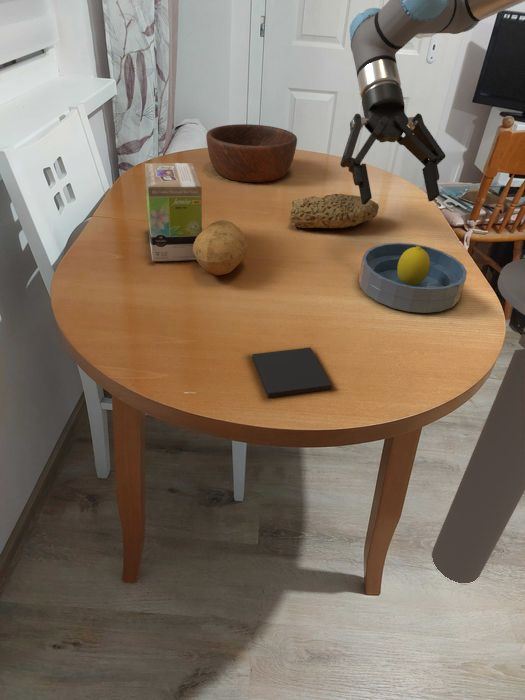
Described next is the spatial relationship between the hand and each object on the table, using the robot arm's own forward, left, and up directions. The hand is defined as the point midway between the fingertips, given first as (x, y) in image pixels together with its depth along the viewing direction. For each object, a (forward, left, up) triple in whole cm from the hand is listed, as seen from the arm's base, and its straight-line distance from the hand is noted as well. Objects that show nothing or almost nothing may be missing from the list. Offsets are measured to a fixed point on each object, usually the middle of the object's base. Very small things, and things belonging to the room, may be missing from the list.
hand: (401, 199), depth 95 cm
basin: (0, +9, -14) cm, 16 cm away
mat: (+29, +29, -14) cm, 43 cm away
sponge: (+3, -22, -14) cm, 26 cm away
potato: (+33, -4, -14) cm, 36 cm away
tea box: (+40, -16, -14) cm, 45 cm away
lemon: (0, +9, -13) cm, 16 cm away
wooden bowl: (+13, -62, -14) cm, 65 cm away
